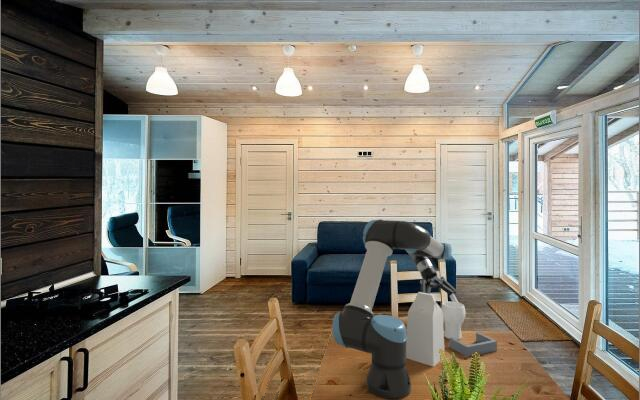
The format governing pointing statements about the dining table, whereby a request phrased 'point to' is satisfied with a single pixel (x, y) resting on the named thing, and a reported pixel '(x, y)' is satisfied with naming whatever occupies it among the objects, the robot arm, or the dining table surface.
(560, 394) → the dining table surface
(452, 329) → the cup
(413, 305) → the milk
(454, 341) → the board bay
